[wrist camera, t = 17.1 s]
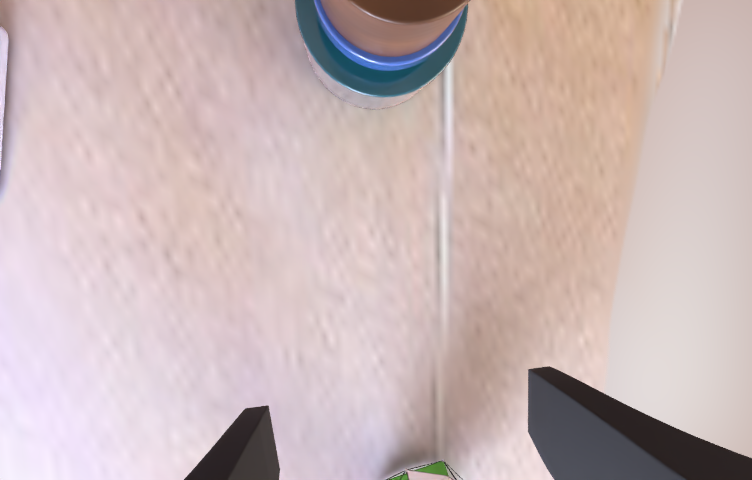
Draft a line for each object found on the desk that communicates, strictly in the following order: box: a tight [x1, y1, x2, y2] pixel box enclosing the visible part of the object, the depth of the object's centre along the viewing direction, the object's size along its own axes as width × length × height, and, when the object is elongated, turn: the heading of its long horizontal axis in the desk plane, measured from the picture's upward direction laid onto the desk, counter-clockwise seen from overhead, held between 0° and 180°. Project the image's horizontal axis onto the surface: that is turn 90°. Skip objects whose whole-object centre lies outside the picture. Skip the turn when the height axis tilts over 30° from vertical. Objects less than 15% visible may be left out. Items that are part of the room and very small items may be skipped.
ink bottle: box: [295, 0, 468, 109], centre depth 15 cm, size 6×6×6 cm
